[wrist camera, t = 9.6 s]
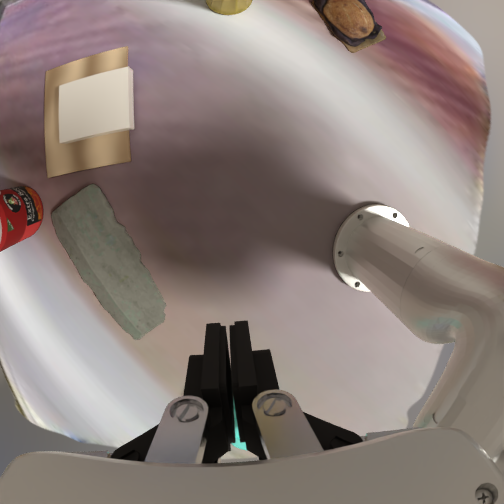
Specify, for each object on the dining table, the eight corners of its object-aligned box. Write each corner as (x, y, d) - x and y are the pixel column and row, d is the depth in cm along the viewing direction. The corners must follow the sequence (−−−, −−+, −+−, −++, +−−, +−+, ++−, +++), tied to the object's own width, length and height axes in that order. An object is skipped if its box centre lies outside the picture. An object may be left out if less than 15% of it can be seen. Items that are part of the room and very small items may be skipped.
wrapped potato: (387, 40, 32) (399, 32, 29) (345, 57, 33) (356, 48, 29) (346, -14, 29) (355, -25, 26) (302, -1, 30) (308, -13, 26)
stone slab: (99, 177, 36) (48, 218, 36) (93, 177, 34) (39, 221, 33) (184, 309, 43) (132, 340, 42) (184, 317, 40) (129, 349, 40)
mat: (128, 47, 30) (127, 46, 29) (131, 161, 34) (130, 161, 34) (47, 71, 29) (45, 71, 29) (48, 177, 34) (47, 177, 33)
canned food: (53, 214, 35) (7, 233, 25) (25, 246, 36) (-19, 271, 26) (28, 173, 33) (-21, 181, 23) (1, 208, 34) (-45, 223, 23)
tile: (128, 66, 29) (59, 85, 28) (129, 127, 31) (59, 143, 30) (133, 71, 31) (66, 88, 30) (134, 129, 33) (67, 143, 32)
